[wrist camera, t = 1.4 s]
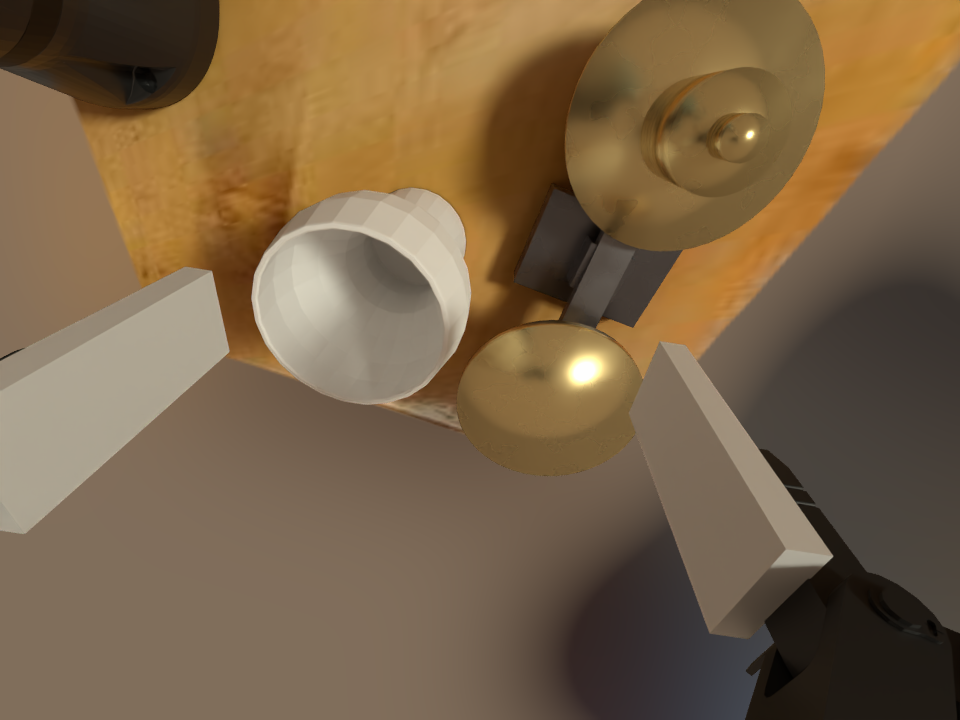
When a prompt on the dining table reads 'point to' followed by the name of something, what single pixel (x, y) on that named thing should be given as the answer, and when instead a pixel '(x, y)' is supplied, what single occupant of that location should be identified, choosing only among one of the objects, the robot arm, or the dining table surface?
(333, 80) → the dining table surface
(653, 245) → the balance
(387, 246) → the cup
